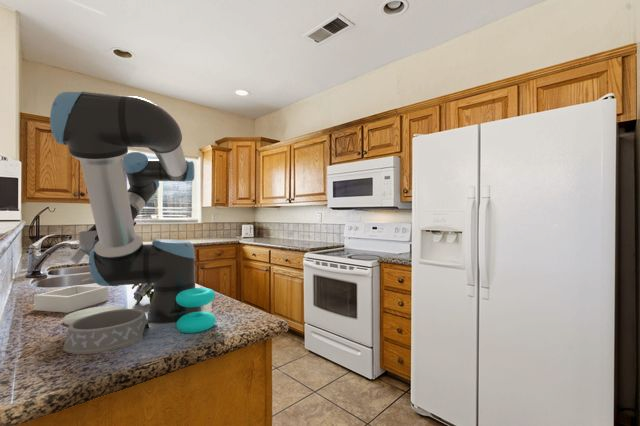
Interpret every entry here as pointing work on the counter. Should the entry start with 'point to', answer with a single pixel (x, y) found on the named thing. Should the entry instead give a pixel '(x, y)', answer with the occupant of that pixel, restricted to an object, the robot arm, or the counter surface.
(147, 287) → the passion flower
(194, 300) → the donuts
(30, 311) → the counter surface
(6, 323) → the counter surface
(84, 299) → the holder
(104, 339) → the dog bowl
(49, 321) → the counter surface
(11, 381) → the counter surface
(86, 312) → the plate
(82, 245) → the wine glass
